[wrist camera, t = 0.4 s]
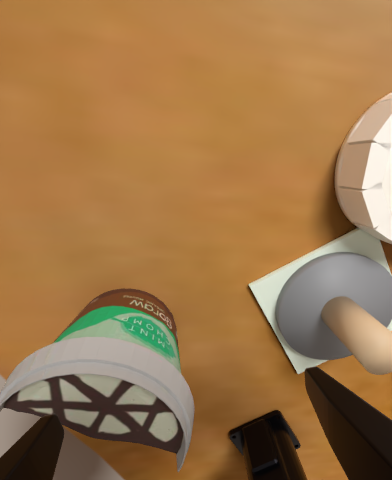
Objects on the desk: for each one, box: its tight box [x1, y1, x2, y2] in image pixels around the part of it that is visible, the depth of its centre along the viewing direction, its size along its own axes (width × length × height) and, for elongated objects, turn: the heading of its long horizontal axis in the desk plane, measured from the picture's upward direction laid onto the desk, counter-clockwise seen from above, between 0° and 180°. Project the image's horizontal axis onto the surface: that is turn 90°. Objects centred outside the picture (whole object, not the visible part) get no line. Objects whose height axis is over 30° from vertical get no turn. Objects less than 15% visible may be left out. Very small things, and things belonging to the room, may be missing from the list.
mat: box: [248, 228, 392, 374], centre depth 24 cm, size 12×12×1 cm
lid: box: [275, 252, 392, 375], centre depth 20 cm, size 11×11×6 cm
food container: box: [0, 289, 194, 472], centre depth 18 cm, size 12×6×10 cm, turn 64°
